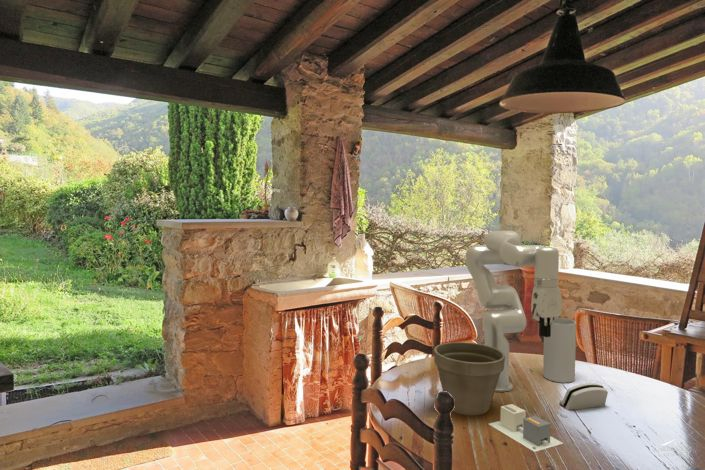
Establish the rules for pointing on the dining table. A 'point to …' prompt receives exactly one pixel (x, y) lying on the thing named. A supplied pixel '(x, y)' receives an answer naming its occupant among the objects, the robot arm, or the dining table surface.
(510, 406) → the cream module
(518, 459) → the dining table surface
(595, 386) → the off-white grooved curved block
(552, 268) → the robot arm
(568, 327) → the cylinder vase
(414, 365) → the dining table surface
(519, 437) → the panel
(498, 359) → the plant pot
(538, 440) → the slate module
